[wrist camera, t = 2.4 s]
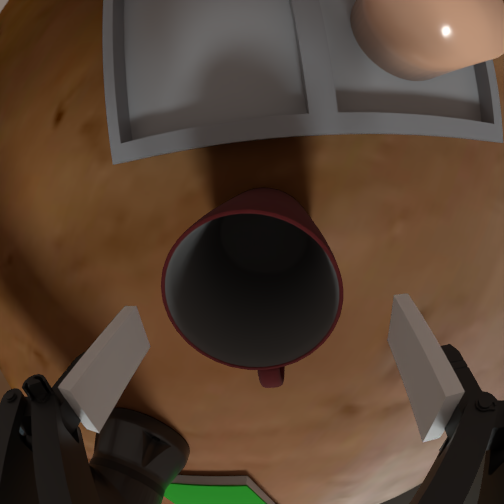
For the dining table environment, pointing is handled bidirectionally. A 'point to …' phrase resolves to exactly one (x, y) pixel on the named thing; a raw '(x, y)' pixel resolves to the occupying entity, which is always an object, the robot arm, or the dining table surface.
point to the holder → (268, 79)
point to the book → (215, 490)
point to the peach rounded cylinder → (428, 34)
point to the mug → (253, 284)
